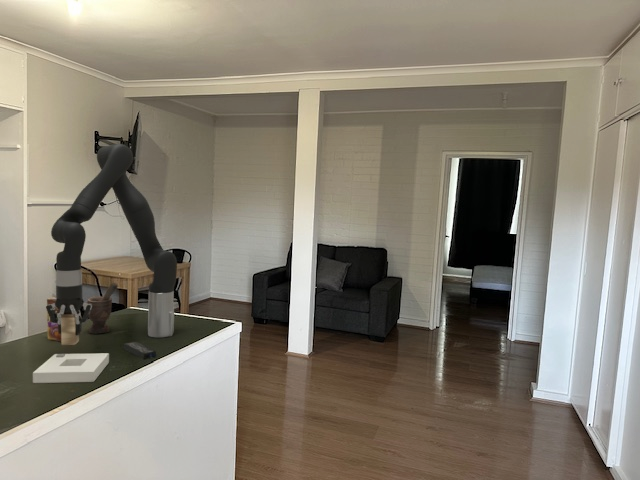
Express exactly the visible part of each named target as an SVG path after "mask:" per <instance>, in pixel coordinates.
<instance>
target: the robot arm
mask: <svg viewBox="0 0 640 480" xmlns="http://www.w3.org/2000/svg"><path fill="white" fill-rule="evenodd" d="M133 159H134V155H133V152H132V150H131V148H130V147H129V146H127V145H126V144H122V143H116V144H114V143H113V144H110V145H105V146H102V147H100V148H99V149H98V151H97V153H96V160H97V163H98V166H99V168H100V169H101V170H100V172H98V174H97V175H96V176H95V177H94V178H93V179H92V180H91V181H90V182H89V183H87V185H85V187H84V188H83V189H82V190H81V191H80V192H79V194H77V197H76V198H75V200H74V201H73V203H72V204H71V206H70V207H69V208H68V209H67V210H66V211H65V212H64V213H62V215H61V216H60V217H59V218H58V219H57V220H56V221H55V222H54V224H53V225H52V228H51V231H50V236H51V238H52V239H53V241H55V242H56V243H60V244H64V245H63V250H62V251H59V252H58V253H57V254H56V259H55V261H56V263H55V264H56V273H55V297H56V302H55V303H54V304H49V305H47V304H46V306H45V309H46V313H47V312H48V314H49V317H50V319H51V322H52V323H57V324H58V333H59V334H60V335H61V314H75V322H76V335H79V336H80V334H81V333H82V331H83V328H82V326H83V323H85V322H87V321H88V320H89V314H90V312H91V309H92V306H93V304H91V303H90V304H88V303H87V302H85V301H84V299H83V273H82V254H83V251H84V246H85V242H86V238H87V236H86V230H85V227H84V226H83V225H82V223H84V222H85V223H86V222H88V221H90V220H92V218H93V217H94V215H95V213H96V211H98V208H99V206H100V205H101V203H102V202H103V201H104V199H105V197H106V196H107V194H108V193H109V192H110V191H111V189H112V190H113V192H114V195H115V197H116V198H117V201H118V203H119V205H120V206H121V210H122V212H123V213H124V216H125V218H126V221H127V222H128V225H129V226H130V229H131V231H132V233H133V235H134V237H135V238H136V241H137V243H138V245H139V247H140V251H141V253H142V256H143V257H142V258H143V260H144V262H145V265H146V267H147V268H148V269H149V270H150V271H151V272H153V280H152V282H150V283H149V284H148V305H147V306H148V308H147V309H148V311H147V313H148V314H147V319H148V320H147V335H148V336H149V337H150V338H166V337H173V334H174V332H175V331H174V330H175V328H174V326H175V325H174V324H175V309H174V300H175V298H174V297H175V294H174V293H175V290H174V289H175V285H176V282H177V275H178V273H177V272H178V260H177V257H176V255H175V254H174V253H173V252H171V251H169V250H165V249H164V248H163V247H162V245H161V244H160V241H159V239H158V237H157V235H156V234H157V233H156V224H155V223H156V222H155V217H154V213H153V211H152V209H151V205H150V204H149V202H148V199H146V197H145V196H144V195H143V194H142V193H141V191H139V189H137V188H136V187H135V185H134V184H133V183H132V182H131V180H130V179H129V178H128V177H129V176H128V175H127V173H126V172H127V170H128V169H129V168H130V167H131V165H132V164H133V162H134V160H133ZM55 307H57V308H58V309H59V311H60V313H59V318H58V317H57V314H56V312H55V309H56V308H55ZM82 307H83V310H84V313H83V316H82V315H81V308H82ZM77 312H78V313H77Z"/></svg>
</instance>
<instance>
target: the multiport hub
mask: <svg viewBox="0 0 640 480" xmlns="http://www.w3.org/2000/svg"><path fill="white" fill-rule="evenodd" d="M123 350H124V351H126V352H128V353H130V354H133V356H134V355H135V356H136V357H138V358H140V357H141V358H140V359H142V358H143V359H142V360H148V359H147V358H149V359H152V358H151V357H153V358H156V357H157V350H155V349H153V348H150V347H148V346H146V345H144V344H141V343H140V342H138V341H131V342H125V343H124V344H123ZM155 356H156V357H155Z"/></svg>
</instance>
